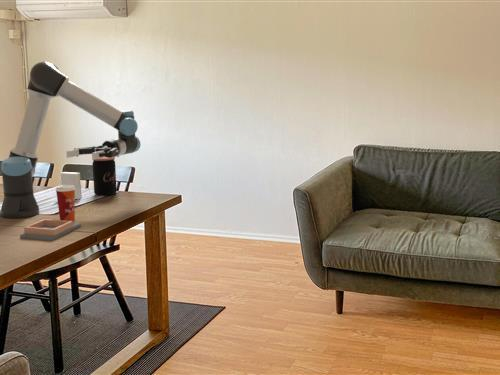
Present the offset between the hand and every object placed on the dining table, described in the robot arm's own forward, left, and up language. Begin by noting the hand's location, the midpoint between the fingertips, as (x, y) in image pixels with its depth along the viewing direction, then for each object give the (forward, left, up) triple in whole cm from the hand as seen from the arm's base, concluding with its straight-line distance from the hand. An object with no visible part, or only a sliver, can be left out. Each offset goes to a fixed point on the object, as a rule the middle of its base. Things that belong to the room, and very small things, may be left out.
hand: (79, 155), depth 251 cm
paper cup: (-2, -9, -25) cm, 27 cm away
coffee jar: (-12, +40, -25) cm, 49 cm away
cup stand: (+2, -26, -25) cm, 36 cm away
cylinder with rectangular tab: (-23, +28, -25) cm, 44 cm away
